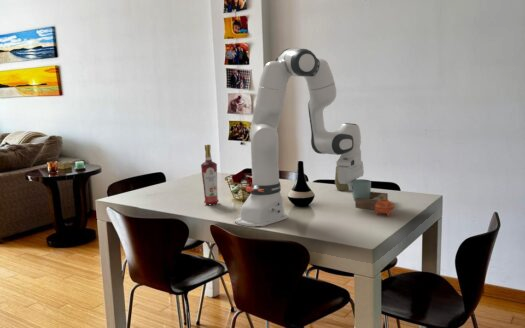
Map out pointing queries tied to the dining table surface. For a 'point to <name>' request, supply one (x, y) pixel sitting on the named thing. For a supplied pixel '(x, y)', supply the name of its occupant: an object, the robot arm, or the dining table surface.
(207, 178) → the liquor
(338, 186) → the squeeze bottle
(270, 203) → the robot arm
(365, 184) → the cup
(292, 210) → the dining table surface
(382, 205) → the orange rounded figure
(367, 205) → the dock
